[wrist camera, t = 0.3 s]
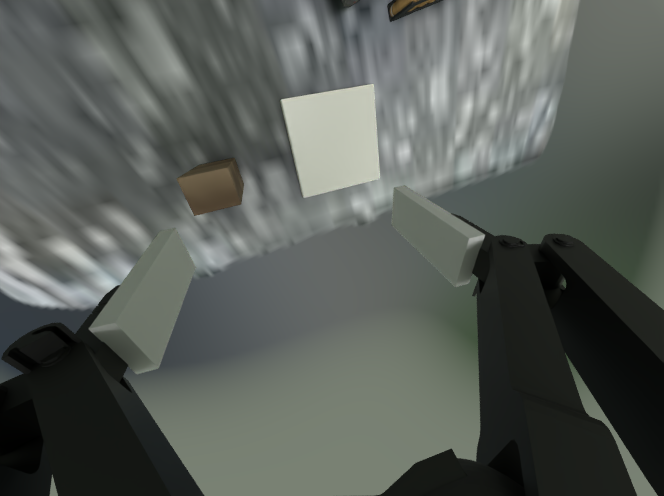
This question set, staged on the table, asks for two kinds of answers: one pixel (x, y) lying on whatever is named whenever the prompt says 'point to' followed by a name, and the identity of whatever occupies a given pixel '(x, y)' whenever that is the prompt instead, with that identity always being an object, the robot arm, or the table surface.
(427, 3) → the ammunition clip
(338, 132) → the plate
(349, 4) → the bluetooth speaker
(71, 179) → the table surface
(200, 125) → the table surface
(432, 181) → the table surface
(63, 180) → the table surface
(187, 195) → the walnut block
